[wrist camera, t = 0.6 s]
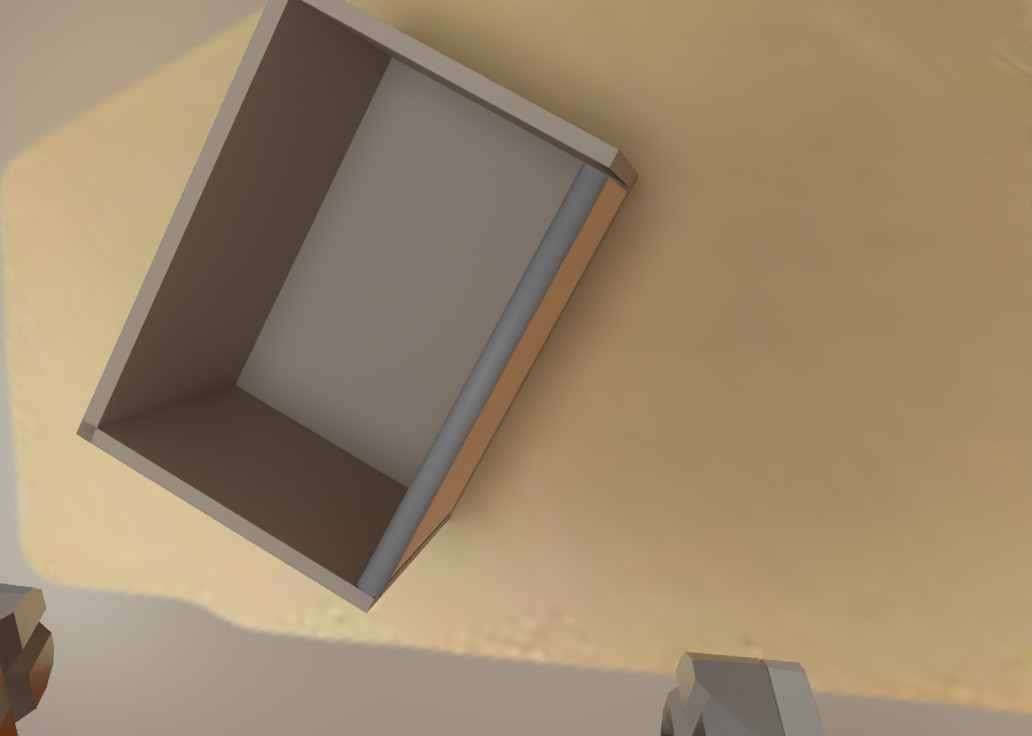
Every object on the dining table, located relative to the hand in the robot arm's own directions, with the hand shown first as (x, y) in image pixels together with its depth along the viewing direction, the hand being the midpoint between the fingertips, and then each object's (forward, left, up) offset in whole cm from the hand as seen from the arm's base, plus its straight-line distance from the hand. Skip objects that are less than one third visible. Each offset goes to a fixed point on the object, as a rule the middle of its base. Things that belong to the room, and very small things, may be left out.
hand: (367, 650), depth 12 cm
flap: (+3, -4, -40) cm, 40 cm away
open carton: (+3, -11, -41) cm, 43 cm away
